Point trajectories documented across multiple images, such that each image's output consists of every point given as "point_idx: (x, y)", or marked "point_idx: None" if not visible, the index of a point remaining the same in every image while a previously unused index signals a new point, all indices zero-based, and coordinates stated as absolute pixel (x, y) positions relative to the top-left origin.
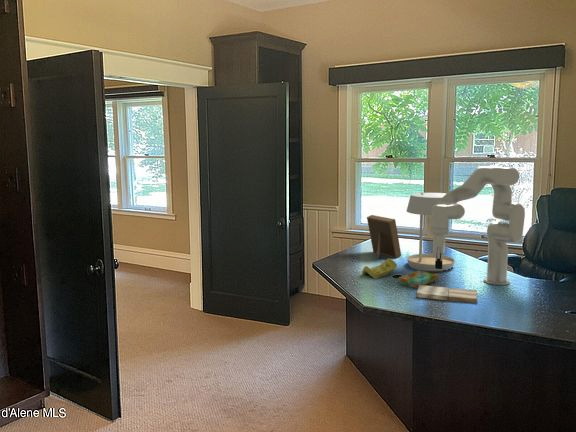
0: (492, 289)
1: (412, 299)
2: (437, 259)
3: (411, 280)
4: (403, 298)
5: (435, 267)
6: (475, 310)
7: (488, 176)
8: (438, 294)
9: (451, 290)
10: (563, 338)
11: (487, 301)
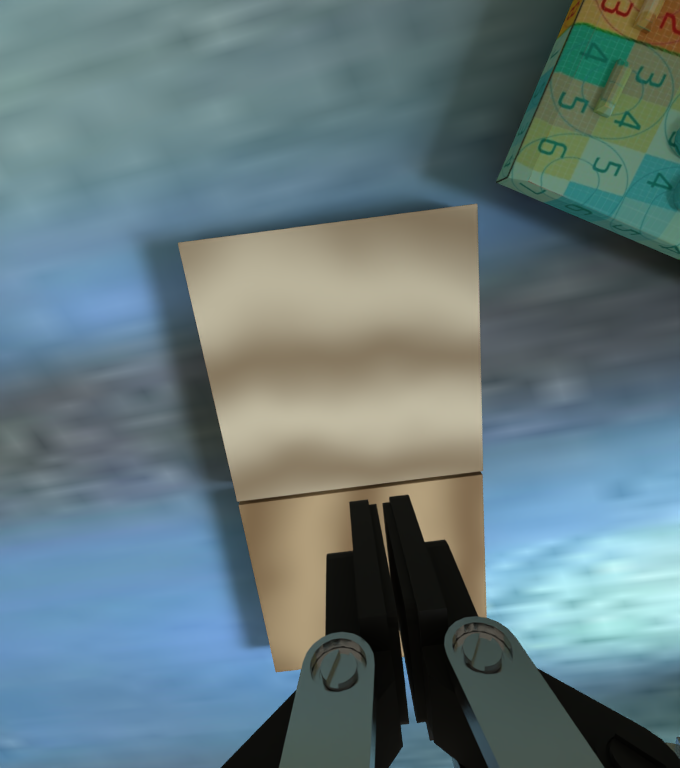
0: (619, 682)
1: (128, 219)
2: (269, 731)
3: (555, 79)
4: (111, 125)
5: (350, 513)
6: (125, 655)
7: None
8: (244, 432)
9: (415, 500)
10: None
11: None
